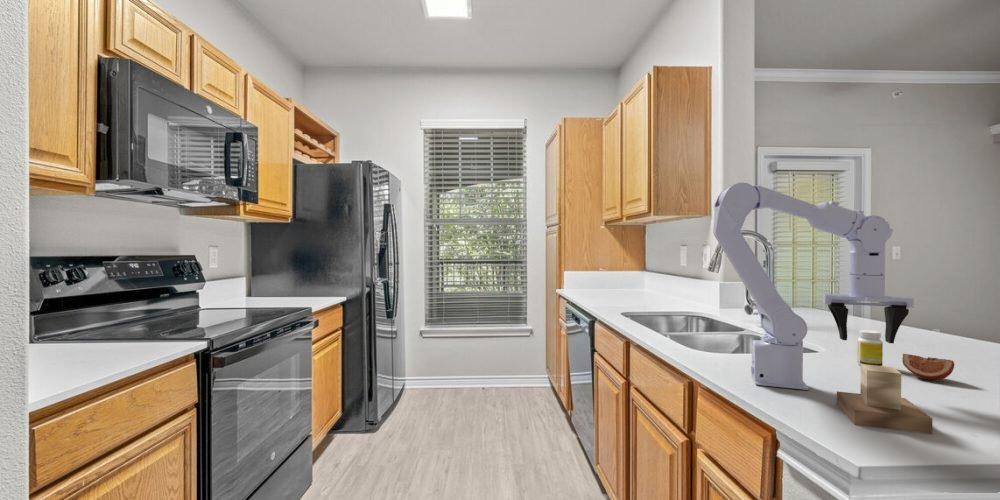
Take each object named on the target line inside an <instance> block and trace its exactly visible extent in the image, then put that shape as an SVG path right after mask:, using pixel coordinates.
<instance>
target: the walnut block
mask: <svg viewBox="0 0 1000 500" xmlns="http://www.w3.org/2000/svg"><path fill="white" fill-rule="evenodd" d="M860 396H861V393H858V392H857V393H855V392H849V391H848V392H847V391H839V390H837V391H836V406H837V405H838V406H837V407H838V408H839V409H840V410H841V412H842V413H843V414H844V415H845V414H846V415H847V416H848V417H847V416H846V417H847V418H848V420H849V421H851V422H852V423H853V424H854V426H862V427H863V426H864V427H871V428H880V429H889V430H893V431H896V430H897V431H903V432H910V433H911V432H912V433H920V434H921V433H922V434H928V435H933V418H932V417H931V416H930V415H929V414H927V413H926V412H925V411H923V410H921V409H920V408H919V407H917V405H915V404H914V403H912V402H911V401H909V400H908V399H907V398H905V397H901V410H897V409H890V408H882V407H874V406H867V405H866V404H865V403H864V401H863V400H862V399H861V398H860Z"/></svg>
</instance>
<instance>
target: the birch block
mask: <svg viewBox="0 0 1000 500" xmlns="http://www.w3.org/2000/svg"><path fill="white" fill-rule="evenodd" d="M860 394H861V396H860V398H861V399H862V400H863V401H864V403H865V404H866V405H867V406H874V407H882V408H890V409H897V410H901V398H902V373H901V372H900V371H899V370H897V369H896V368H895V367H894V366H886V365H882V366H876V365H865V364H861V365H860Z"/></svg>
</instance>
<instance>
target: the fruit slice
mask: <svg viewBox="0 0 1000 500" xmlns="http://www.w3.org/2000/svg"><path fill="white" fill-rule="evenodd" d="M901 359H902V360H901V362H902V364H903V366H904V367H905V368H906V369H907V370H908V372H909V371H910V373H912V374H913V375H914V376H917V377H919V378H921V379H924V380H927V381H941V380H944V379H946V378H948V377H949V376H950V375H952V373H953V371H954V369H955V362H954V360H951V359H946V358H938V357H930V356H928V357H923V356H921V355H915V354H909V353H908V354H907V353H902V358H901Z"/></svg>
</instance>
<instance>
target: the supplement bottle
mask: <svg viewBox="0 0 1000 500" xmlns="http://www.w3.org/2000/svg"><path fill="white" fill-rule="evenodd" d="M881 334H882V333H881V332H880V331H878V330H869V329H864V330H863V329H862V330H859V338H858V339H857V365H859V366H861V364H865V365H876V366H883V353H884V352H883V349H884V348H883V344H884V343H883V341H882V340H881V336H882V335H881Z"/></svg>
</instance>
